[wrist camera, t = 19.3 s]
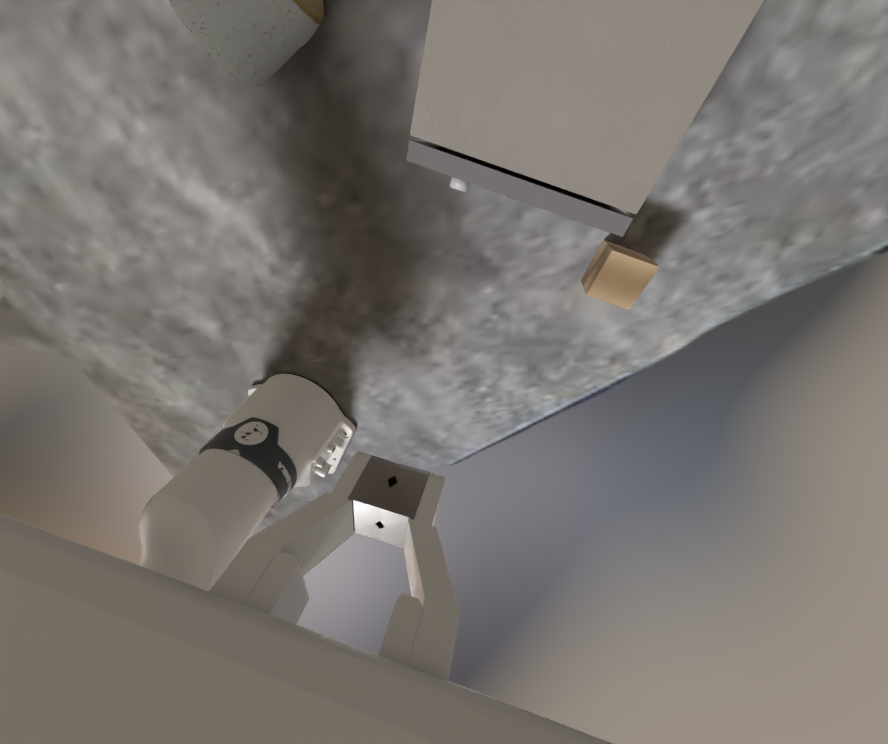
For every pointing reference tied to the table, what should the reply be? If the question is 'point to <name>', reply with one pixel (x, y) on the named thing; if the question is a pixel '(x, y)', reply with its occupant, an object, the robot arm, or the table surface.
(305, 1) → the ceramic mug
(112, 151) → the table surface
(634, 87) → the housing
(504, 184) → the tray
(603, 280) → the block
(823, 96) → the table surface
